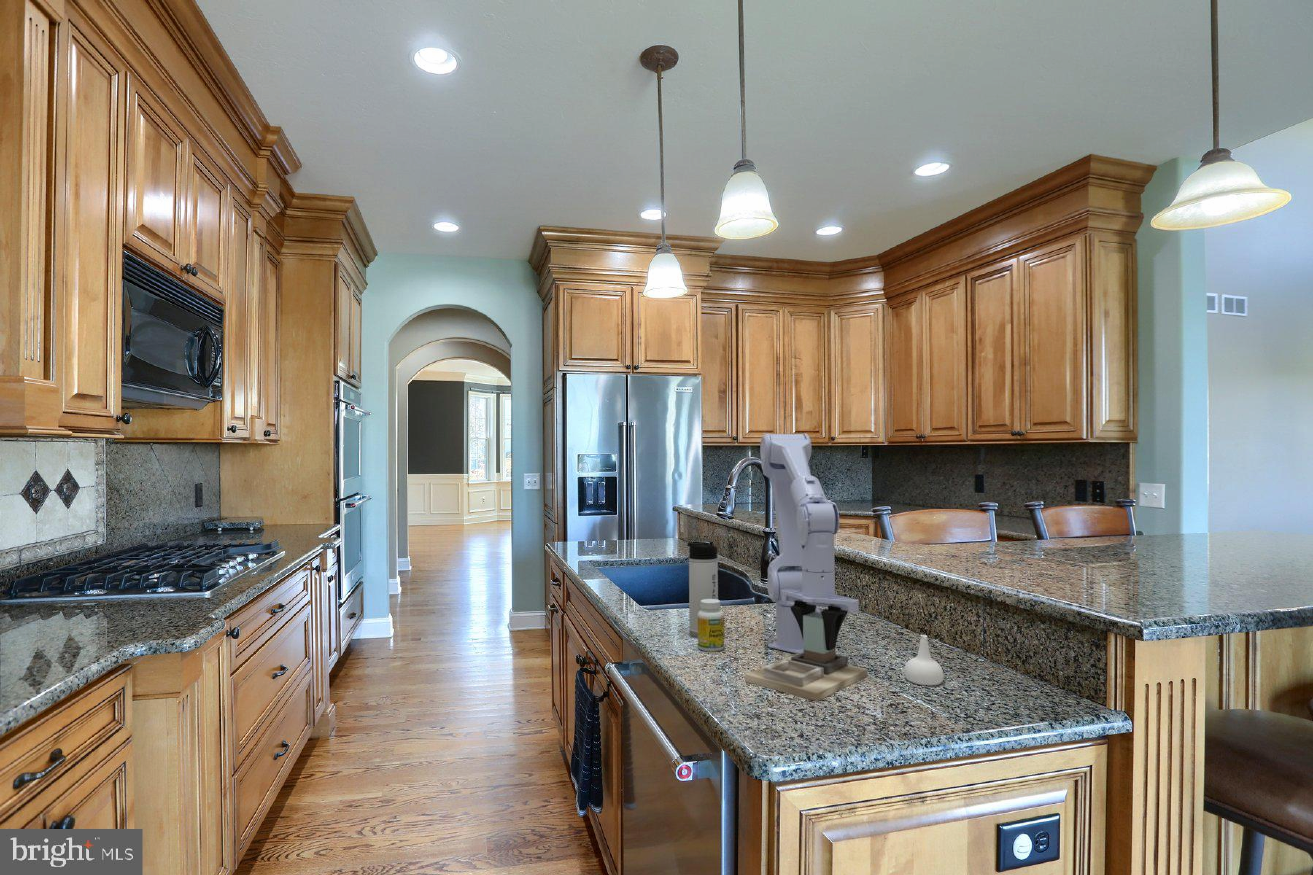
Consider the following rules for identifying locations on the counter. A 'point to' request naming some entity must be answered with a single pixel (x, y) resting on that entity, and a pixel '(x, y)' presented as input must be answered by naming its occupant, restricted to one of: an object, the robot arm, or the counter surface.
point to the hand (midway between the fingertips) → (819, 646)
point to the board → (807, 676)
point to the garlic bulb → (923, 667)
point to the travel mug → (701, 580)
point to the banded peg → (815, 639)
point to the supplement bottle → (710, 626)
